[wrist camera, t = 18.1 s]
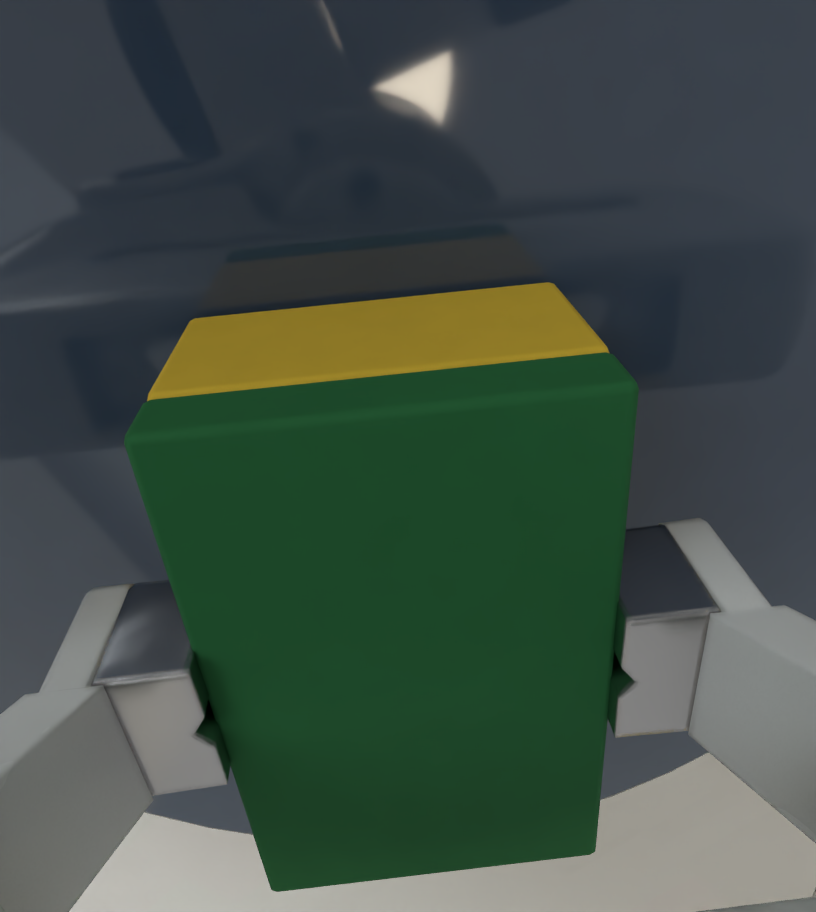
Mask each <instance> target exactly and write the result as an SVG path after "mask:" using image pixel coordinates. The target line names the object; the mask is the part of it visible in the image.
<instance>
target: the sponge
mask: <svg viewBox="0 0 816 912" xmlns="http://www.w3.org/2000/svg"><path fill="white" fill-rule="evenodd" d="M638 393H639V388H638V385H637V382H636V381H635V379H634V378H633V377H632V376H631V375H630V373H629V372H628V371H627V370H626V369H625V368H624V366H623V365H622V364H621V363H620V362H619V360H618V359H617V358H616V357H615V356H614V355H613V354H610V353H609V350H608V348H607V346H606V345H605V344H604V342H603V341H602V340H601V339H600V338H599V336H598V335H597V334H596V333H595V332H594V331H593V329H592V328H591V327H590V326H589V325H588V323H587V322H586V321H585V320H584V319H583V318H582V316H581V315H580V314H579V313H578V312H577V310H576V309H575V308H574V307H573V306H572V304H571V303H570V302H569V301H568V300H567V299H566V297H565V296H564V295H563V294H562V293H561V291H560V290H559V289H558V288H557V287H556V285H555V284H553V283H549V282H546V283H536V284H526V285H516V286H507V287H497V288H487V289H477V290H467V291H458V292H448V293H438V294H428V295H418V296H409V297H399V298H389V299H379V300H370V301H360V302H350V303H340V304H330V305H321V306H311V307H301V308H291V309H281V310H272V311H262V312H252V313H242V314H232V315H223V316H213V317H203V318H195V319H193V320H191V321H190V322H189V324H188V325H187V327H186V329H185V331H184V332H183V334H182V336H181V338H180V339H179V341H178V343H177V345H176V346H175V348H174V350H173V352H172V353H171V355H170V357H169V359H168V360H167V362H166V364H165V366H164V367H163V369H162V371H161V373H160V374H159V376H158V378H157V380H156V381H155V383H154V385H153V387H152V388H151V390H150V392H149V394H148V399H147V402H145V403H143V405H142V406H141V408H140V410H139V412H138V413H137V415H136V417H135V419H134V420H133V422H132V424H131V426H130V427H129V429H128V431H127V433H126V434H125V439H124V445H125V448H126V451H127V454H128V457H129V460H130V463H131V466H132V469H133V472H134V475H135V478H136V481H137V484H138V487H139V490H140V493H141V496H142V499H143V502H144V505H145V508H146V511H147V515H148V518H149V521H150V524H151V527H152V530H153V533H154V536H155V539H156V542H157V545H158V548H159V551H160V554H161V557H162V560H163V563H164V566H165V569H166V572H167V575H168V578H169V581H170V584H171V587H172V590H173V593H174V596H175V599H176V602H177V605H178V608H179V611H180V614H181V617H182V620H183V623H184V627H185V630H186V633H187V636H188V639H189V642H190V645H191V648H192V650H193V651H194V652H195V655H196V658H197V661H198V664H199V667H200V670H201V672H202V675H203V678H204V681H205V684H206V687H207V690H208V693H209V702H210V705H211V708H212V711H213V714H214V717H215V720H216V722H217V723H219V726H220V729H221V732H222V735H223V738H224V741H225V745H226V748H227V751H228V754H229V757H230V760H231V765H230V766H231V769H232V772H233V775H234V778H235V781H236V784H237V787H238V790H239V793H240V796H241V799H242V802H243V805H244V808H245V811H246V814H247V817H248V820H249V823H250V826H251V829H252V832H253V835H254V838H255V841H256V844H257V847H258V850H259V854H260V857H261V860H262V863H263V866H264V869H265V872H266V875H267V878H268V881H269V884H270V887H271V890H273V891H277V892H279V891H288V890H296V889H305V888H313V887H321V886H330V885H338V884H347V883H355V882H363V881H372V880H380V879H389V878H397V877H406V876H414V875H422V874H431V873H439V872H448V871H456V870H465V869H473V868H481V867H490V866H498V865H507V864H515V863H523V862H532V861H540V860H549V859H557V858H566V857H574V856H582V855H590V854H592V853H594V852H595V848H596V837H597V827H598V816H599V806H600V795H601V785H602V774H603V763H604V753H605V742H606V732H607V721H608V718H607V713H608V700H609V688H610V678H611V676H612V668H613V658H614V650H613V642H614V632H615V622H616V612H617V602H619V594H620V583H621V573H622V562H623V552H624V541H625V531H626V520H627V509H628V499H629V488H630V478H631V467H632V457H633V446H634V435H635V425H636V414H637V404H638Z"/></svg>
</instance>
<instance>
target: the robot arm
mask: <svg viewBox="0 0 816 912" xmlns="http://www.w3.org/2000/svg"><path fill="white" fill-rule="evenodd" d="M613 650H614V658H613V668H612V676H611V678H610V688H609V700H608V713H607V718H608V720H609V723H610V726H611V728H612V731H613V733H614V736H615V738H617V737H628V736H638V735H649V734H660V733H671V732H681V731H689V732H688V735H689V736H691V737H692V738H693V739H694V740H695V741H696V742H698V743H699V744H700V745H701V746H702V747H703V748H705V749H706V750H707V751H708V752H709V753H710V754H712V755H713V756H714V757H715V758H716V759H717V760H719V761H720V762H721V763H722V764H723V765H724V766H726V767H727V768H728V769H729V770H730V771H732V772H733V773H734V774H735V775H736V776H737V777H739V778H740V779H741V780H742V781H743V782H744V783H746V784H747V785H748V786H749V787H750V788H751V789H753V790H754V791H755V792H756V793H757V794H758V795H760V796H761V797H762V798H763V799H764V800H765V801H767V802H768V803H769V804H770V805H771V806H773V807H774V808H775V809H776V810H777V811H778V812H780V813H781V814H782V815H783V816H784V817H785V818H787V819H788V820H789V821H790V822H791V823H792V824H794V825H795V826H796V827H797V828H798V829H799V830H801V831H802V832H803V833H804V834H805V835H806V836H808V837H809V838H810V839H811V840H812V841H814V842H815V843H816V620H814V619H812V618H809V617H807V616H805V615H803V614H801V613H799V612H797V611H795V610H793V609H791V608H789V607H787V606H785V605H782V606H773V607H772V606H771V605H770V603H769V602H768V601H767V599H766V598H765V597H764V595H763V594H762V593H761V592H760V590H759V589H758V588H757V586H756V585H755V584H754V582H753V581H752V580H751V578H750V577H749V576H748V575H747V573H746V572H745V571H744V569H743V568H742V567H741V565H740V564H739V563H738V561H737V560H736V559H735V558H734V556H733V555H732V554H731V552H730V551H729V550H728V548H727V547H726V546H725V544H724V543H723V542H722V541H721V539H720V538H719V537H718V535H717V534H716V533H715V531H714V530H713V529H712V527H711V526H710V525H709V524H708V522H707V521H705V520H703V519H701V518H695V519H687V520H680V521H673V522H666V523H659V525H652V526H644V527H635V528H627V529H626V531H625V541H624V552H623V562H622V573H621V583H620V594H619V602H617V612H616V622H615V632H614V642H613ZM230 765H231V760H230V757H229V754H228V751H227V748H226V745H225V741H224V738H223V735H222V732H221V729H220V726H219V723H217V722H216V720H215V717H214V714H213V711H212V708H211V705H210V702H209V693H208V690H207V687H206V684H205V681H204V678H203V675H202V672H201V670H200V667H199V664H198V661H197V658H196V655H195V652H194V651H193V650H192V648H191V645H190V642H189V639H188V636H187V633H186V630H185V627H184V623H183V620H182V617H181V614H180V611H179V608H178V605H177V602H176V599H175V596H174V593H173V590H172V587H171V584H170V581H169V580H161V581H150V582H139V583H135V584H123V585H113V586H104V587H95V588H93V589H92V590H90V591H89V592H88V593H86V595H85V596H84V598H83V600H82V602H81V604H80V606H79V608H78V611H77V613H76V615H75V617H74V619H73V621H72V623H71V625H70V627H69V629H68V632H67V634H66V636H65V638H64V640H63V642H62V644H61V646H60V648H59V650H58V653H57V655H56V657H55V659H54V661H53V663H52V665H51V667H50V669H49V671H48V674H47V676H46V678H45V680H44V682H43V684H42V686H41V688H40V690H39V693H33V694H25V695H24V696H22V697H21V698H20V699H19V700H17V701H16V702H15V703H14V704H12V705H11V706H10V707H9V708H7V709H6V710H5V711H4V712H2V713H1V714H0V912H69V911H70V909H71V908H72V907H73V905H74V904H75V903H76V901H77V900H78V899H79V897H80V896H81V895H82V894H83V892H84V891H85V890H86V888H87V887H88V886H89V884H90V883H91V882H92V880H93V879H94V878H95V876H96V875H97V874H98V872H99V871H100V870H101V868H102V867H103V866H104V864H105V863H106V862H107V861H108V859H109V858H110V857H111V855H112V854H113V853H114V851H115V850H116V849H117V847H118V846H119V845H120V843H121V842H122V841H123V839H124V838H125V837H126V835H127V834H128V833H129V832H130V830H131V829H132V828H133V826H134V825H135V824H136V822H137V821H138V820H139V818H140V817H141V816H142V814H143V813H144V812H145V810H146V809H147V808H148V806H149V805H150V804H151V803H152V801H153V797H152V796H154V795H160V794H167V793H174V792H180V791H187V790H194V789H200V788H207V787H214V786H221V785H227V783H228V777H229V771H230ZM698 912H816V888H815V891H814V894H813V896H812V897H808V898H801V899H793V900H785V901H777V902H769V903H761V904H753V905H745V906H737V907H729V908H721V909H714V910H706V911H698Z"/></svg>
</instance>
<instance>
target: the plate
mask: <svg viewBox="0 0 816 912" xmlns="http://www.w3.org/2000/svg"><path fill="white" fill-rule="evenodd" d="M546 282H549V283H553V284H555V285H556V287H557V288H558V289H559V290H560V291H561V293H562V294H563V295H564V296H565V297H566V299H567V300H568V301H569V302H570V303H571V304H572V306H573V307H574V308H575V309H576V310H577V312H578V313H579V314H580V315H581V316H582V318H583V319H584V320H585V321H586V322H587V323H588V325H589V326H590V327H591V328H592V329H593V331H594V332H595V333H596V334H597V335H598V336H599V338H600V339H601V340H602V341H603V342H604V344H605V345H606V346H607V348H608V350H609V353H610V354H613V355H614V356H615V357H616V358H617V359H618V360H619V362H620V363H621V364H622V365H623V366H624V368H625V369H626V370H627V371H628V372H629V373H630V375H631V376H632V377H633V378H634V379H635V381H636V382H637V385H638V388H639V393H638V404H637V414H636V425H635V435H634V446H633V457H632V467H631V478H630V488H629V499H628V509H627V520H626V529H627V528H635V527H644V526H652V525H659V523H666V522H673V521H680V520H687V519H695V518H701V519H703V520H705V521H707V522H708V524H709V525H710V526H711V527H712V529H713V530H714V531H715V533H716V534H717V535H718V537H719V538H720V539H721V541H722V542H723V543H724V544H725V546H726V547H727V548H728V550H729V551H730V552H731V554H732V555H733V556H734V558H735V559H736V560H737V561H738V563H739V564H740V565H741V567H742V568H743V569H744V571H745V572H746V573H747V575H748V576H749V577H750V578H751V580H752V581H753V582H754V584H755V585H756V586H757V588H758V589H759V590H760V592H761V593H762V594H763V595H764V597H765V598H766V599H767V601H768V602H769V603H770V605H771V606H772V607H773V606H782V605H785V606H787V607H789V608H791V609H793V610H795V611H797V612H799V613H801V614H803V615H805V616H807V617H809V618H812V619H814V620H816V0H0V714H1V713H2V712H4V711H5V710H6V709H7V708H9V707H10V706H11V705H12V704H14V703H15V702H16V701H17V700H19V699H20V698H21V697H22V696H24V695H25V694H33V693H39V690H40V688H41V686H42V684H43V682H44V680H45V678H46V676H47V674H48V671H49V669H50V667H51V665H52V663H53V661H54V659H55V657H56V655H57V653H58V650H59V648H60V646H61V644H62V642H63V640H64V638H65V636H66V634H67V632H68V629H69V627H70V625H71V623H72V621H73V619H74V617H75V615H76V613H77V611H78V608H79V606H80V604H81V602H82V600H83V598H84V596H85V595H86V593H88V592H89V591H90V590H92V589H93V588H95V587H104V586H113V585H123V584H135V583H139V582H150V581H161V580H169V578H168V575H167V572H166V569H165V566H164V563H163V560H162V557H161V554H160V551H159V548H158V545H157V542H156V539H155V536H154V533H153V530H152V527H151V524H150V521H149V518H148V515H147V511H146V508H145V505H144V502H143V499H142V496H141V493H140V490H139V487H138V484H137V481H136V478H135V475H134V472H133V469H132V466H131V463H130V460H129V457H128V454H127V451H126V448H125V445H124V439H125V434H126V433H127V431H128V429H129V427H130V426H131V424H132V422H133V420H134V419H135V417H136V415H137V413H138V412H139V410H140V408H141V406H142V405H143V403H145V402H147V399H148V394H149V392H150V390H151V388H152V387H153V385H154V383H155V381H156V380H157V378H158V376H159V374H160V373H161V371H162V369H163V367H164V366H165V364H166V362H167V360H168V359H169V357H170V355H171V353H172V352H173V350H174V348H175V346H176V345H177V343H178V341H179V339H180V338H181V336H182V334H183V332H184V331H185V329H186V327H187V325H188V324H189V322H190V321H191V320H193V319H195V318H203V317H213V316H223V315H232V314H242V313H252V312H262V311H272V310H281V309H291V308H301V307H311V306H321V305H330V304H340V303H350V302H360V301H370V300H379V299H389V298H399V297H409V296H418V295H428V294H438V293H448V292H458V291H467V290H477V289H487V288H497V287H507V286H516V285H526V284H536V283H546ZM688 732H689V731H681V732H671V733H660V734H649V735H638V736H628V737H617V738H615V736H614V733H613V731H612V728H611V726H610V723H609V720H608V721H607V732H606V742H605V753H604V763H603V774H602V785H601V795H600V800H602V799H605V798H609V797H612V796H614V795H617V794H619V793H622V792H624V791H626V790H629V789H631V788H634V787H636V786H639V785H641V784H643V783H646V782H648V781H651V780H653V779H656V778H658V777H660V776H663V775H665V774H668V773H670V772H672V771H674V770H676V769H678V768H680V767H682V766H683V765H685V764H687V763H689V762H691V761H693V760H695V759H697V758H699V757H701V756H703V755H705V754H707V753H709V752H708V751H707V750H706V749H705V748H703V747H702V746H701V745H700V744H699V743H698V742H696V741H695V740H694V739H693V738H692V737H691V736H689V735H688ZM152 797H153V801H152V803H151V804H150V805H149V806H148V808H147V809H146V810H145V813H149V814H152V815H156V816H161V817H165V818H169V819H173V820H177V821H182V822H186V823H190V824H194V825H198V826H203V827H207V828H212V829H218V830H225V831H231V832H238V833H244V834H251V835H253V832H252V829H251V826H250V823H249V820H248V817H247V814H246V811H245V808H244V805H243V802H242V799H241V796H240V793H239V790H238V787H237V784H236V781H235V778H234V775H233V772H232V769H231V766H230V771H229V777H228V783H227V785H221V786H214V787H207V788H200V789H194V790H187V791H180V792H174V793H167V794H160V795H154V796H152Z"/></svg>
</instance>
